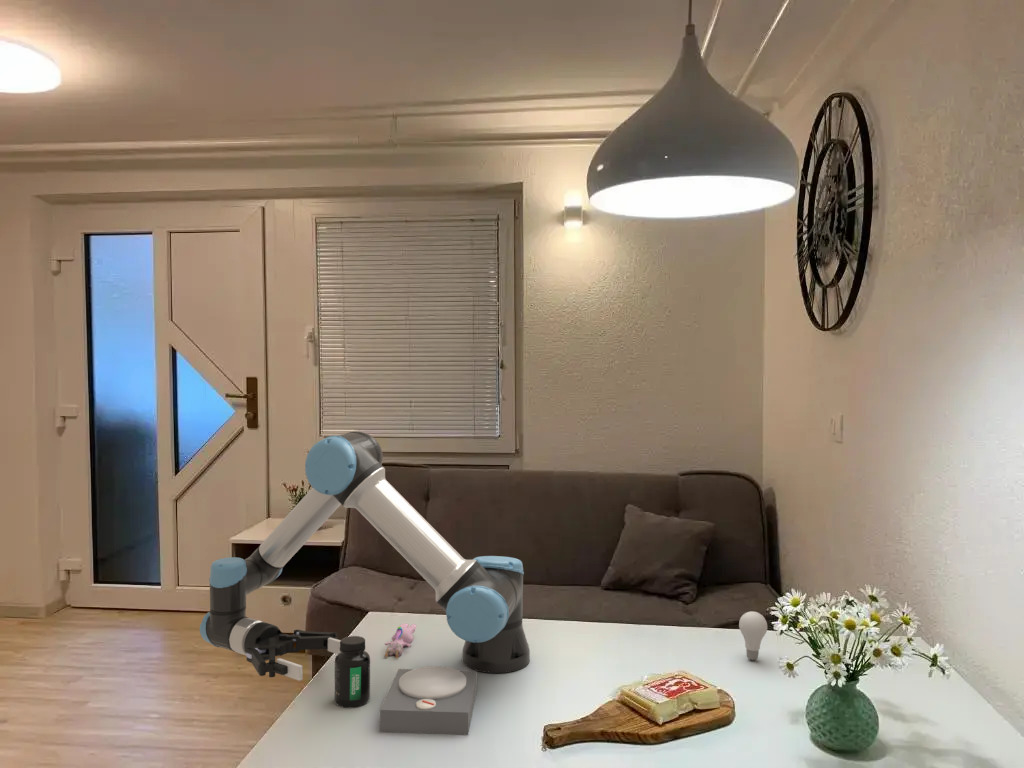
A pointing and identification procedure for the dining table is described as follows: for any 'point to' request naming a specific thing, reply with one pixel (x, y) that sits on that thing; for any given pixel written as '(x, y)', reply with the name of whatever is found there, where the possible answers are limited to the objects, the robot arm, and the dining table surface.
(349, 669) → the supplement bottle
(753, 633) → the lightbulb
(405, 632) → the pink unicorn toy
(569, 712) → the dining table surface
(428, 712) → the kitchen scale
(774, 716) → the dining table surface
